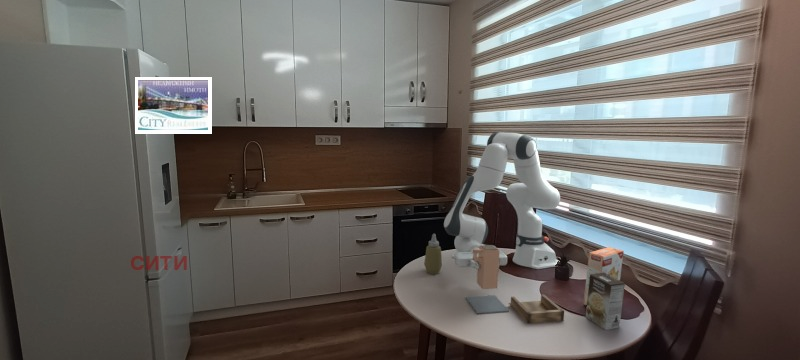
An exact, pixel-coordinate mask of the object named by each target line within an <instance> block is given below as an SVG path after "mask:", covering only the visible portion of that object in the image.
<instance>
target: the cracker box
mask: <svg viewBox="0 0 800 360" xmlns="http://www.w3.org/2000/svg"><path fill="white" fill-rule="evenodd" d="M624 253H625V252H624V250H621V249H618V248H614V247H611V246H608V247H604V248H601V249H598V250H594V251H590V252H589V253H588V259H587V261H588V262H587V268H586V269H587V270H586V280H585V285H584V287H585V288H584V295H583V296H584V297H583V305H584V306H586V305H587V299H588V290H589V280H590V274H595V273H603V272H604V273H606V274H608V275H610V276H612V277H614V278H616V279H618V280H620V281H621V274H622V273H621V272H622V267H623V266H622V265H623V258H624Z"/></svg>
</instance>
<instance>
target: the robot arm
mask: <svg viewBox="0 0 800 360" xmlns="http://www.w3.org/2000/svg"><path fill="white" fill-rule="evenodd" d="M537 148H538V146H537V142H536V140H535V139H534V137H533V136H530V135H529V134H522V133H518V132H503V131H498V132H497V131H495V132H493V133H491V135H490V136H489V137H488V139H487V142H486V147H485V149H484V151H483V152H482V155H481V158H480V160H479V163H478V166H477V169H476V171H475V172H474V173H473V174H472V175H469V176H467V177H466V179H465V180H464V181H463V184H462V186H461V188H460V190H459V191H458V194H457V196H456V198H455V200H454V201H453V204H452V206H451V208H450V210H449V212H448V213H447V214H446V216H445V218H444V222H443V227H444V228H443V229H444V231H445V232H446V233H447V234H448V235H449V236H454V237H455V238H454V247H455V250H456V251H457V252H455V253H453V254H451V256H450V257H451V258H452V259H453V260H454V262H455V263H454V264H455V265H456V266H457V267H458V268H475V269H476V270H478V269H481V264H480V263H478V261H474V260H473V249H479V246H481V245H485V244H484V243H485V242H486V240H487V238H488V235H489V227H488V224H487V222H486V220H485V219H484V218H482V217H478V216H473V215H469V214H466V213H464V212H463V211H464V209H465V207H466V205H467V203H468V202H469V199H470V197H471V196H472V195H473V194H475V193H477V192H483V191H490V190H493V189H496V188H497V187H498V186H499V185H501V182H502V181H503V178H504V175H505V172H506V168H507V162H508V159H513V165H514V171H515V175H516V178H517V180H518V181H519V182H517V183H511V184H510V185H509V186H508V187H507V189H506V193H505V195H506V196H505V197H506V198H507V201H508V202H509V203H510V204H511V205H512V206H513V208H514V210H515V212H516V215H517V232H516V240H515V244H516V245H515V246H516V247H515V251H514V255H513V257H512V262H513V263H514V264H516V265H519V266H521V267H527V268H531V269H534V270H540V269H541V270H542V269H546V268H547V269H548V268H554V267H556V266H555V265H556V264H557V262H558V261H559V260H558V259H557V256H556V252H555V250H554V249H552V248H551V246H549V245H548V244H547V243H545V242H549V240H550V239H549V237H547V236H544V235H543V234H542V233H543V220H542V218H541V217H540V216H539V215H538V214H536V212H535V211H534V208H535V209H540V210H541V209H542V210H554V209H556V208H557V207H558V206H559V204H560V202H561V194H560V192H559V190H558V189H557V188H555V187H554V186H552V185H551V184H550V183H549V182H548V181H547V180H546V178H545V177H544V175H543V172H542V169H541V163H540V157H539V151H538V150H537ZM478 255H479V253H477V257H478ZM507 264H508V256H507V255H506V254H505V253H504V252H503V251H502V250H500V253H499V266H506V265H507Z"/></svg>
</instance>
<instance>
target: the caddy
mask: <svg viewBox="0 0 800 360" xmlns="http://www.w3.org/2000/svg"><path fill="white" fill-rule="evenodd" d="M508 305H509V306H510V307H511V308H513V310H514V311H515V312H516V313H517V314H518V315H519V316H520V317H521V318H522V319H523V321H525V322H526V323H527V324H535V323H537V324H539V323H549V322H563V321H564V319H565V310H564V309H562V308H561V307H560V306H559V305H558V304H556V303H555V302H554V301H553V300H551V299H550V298H549V297H548V296H547V295H546V294H540V300H534V301H523V302H522V301H521V302H520V301H519V300H518V299H517V298H516V297H515V296H511V297H510V302H509V303H508Z"/></svg>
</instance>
